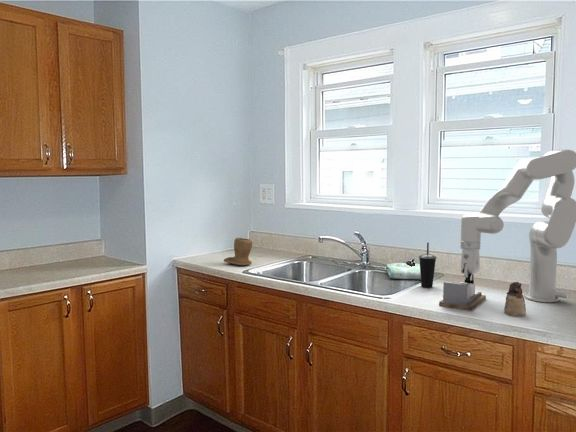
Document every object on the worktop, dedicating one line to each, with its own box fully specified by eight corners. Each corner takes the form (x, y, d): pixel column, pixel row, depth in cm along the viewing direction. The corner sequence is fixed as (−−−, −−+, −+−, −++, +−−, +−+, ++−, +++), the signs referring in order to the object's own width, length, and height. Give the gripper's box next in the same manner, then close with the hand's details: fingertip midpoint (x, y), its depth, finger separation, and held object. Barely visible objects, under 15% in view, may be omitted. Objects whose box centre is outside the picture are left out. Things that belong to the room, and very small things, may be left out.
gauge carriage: (474, 296, 194) (475, 284, 194) (467, 301, 186) (467, 289, 186) (453, 293, 200) (453, 281, 199) (444, 298, 192) (445, 286, 191)
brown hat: (257, 264, 269) (256, 237, 268) (241, 267, 261) (240, 240, 259) (238, 261, 280) (238, 235, 278) (223, 264, 271) (222, 237, 269)
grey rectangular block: (469, 304, 184) (469, 284, 183) (466, 306, 182) (467, 285, 181) (445, 300, 189) (446, 280, 188) (443, 302, 187) (443, 282, 186)
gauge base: (485, 299, 197) (485, 292, 196) (470, 311, 181) (470, 304, 180) (456, 294, 204) (456, 288, 204) (439, 305, 188) (439, 298, 188)
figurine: (519, 310, 181) (520, 279, 180) (529, 316, 174) (531, 284, 172) (500, 311, 181) (501, 279, 179) (510, 317, 173) (511, 284, 172)
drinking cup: (433, 289, 212) (434, 244, 210) (415, 287, 216) (416, 243, 214) (437, 285, 219) (438, 242, 217) (421, 283, 223) (421, 240, 221)
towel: (421, 271, 250) (421, 261, 250) (428, 281, 229) (429, 270, 228) (385, 271, 252) (386, 261, 252) (389, 280, 231) (389, 270, 231)
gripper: (474, 248, 188) (472, 294, 190) (485, 243, 200) (483, 287, 201) (454, 246, 192) (453, 291, 194) (466, 242, 204) (465, 284, 206)
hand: (468, 289), depth 198 cm, fingers closed
